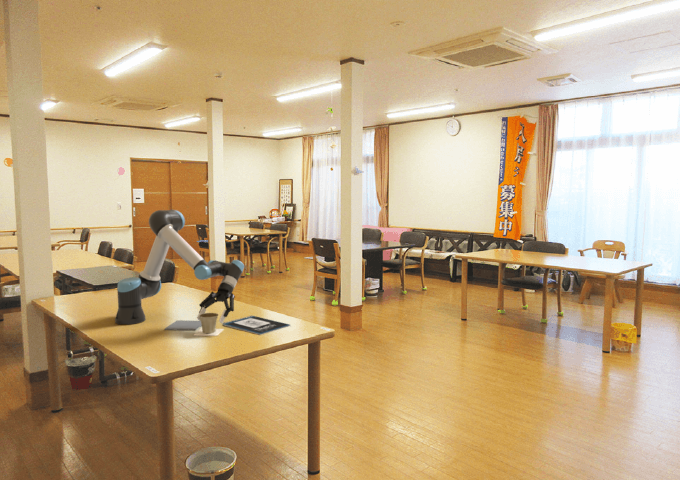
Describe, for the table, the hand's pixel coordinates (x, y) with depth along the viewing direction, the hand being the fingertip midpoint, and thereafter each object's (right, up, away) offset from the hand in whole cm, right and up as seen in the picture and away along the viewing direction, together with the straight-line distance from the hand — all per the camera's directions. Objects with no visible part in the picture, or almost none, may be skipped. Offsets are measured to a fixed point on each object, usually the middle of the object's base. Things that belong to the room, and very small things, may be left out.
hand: (209, 320), depth 229 cm
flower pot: (0, -6, +1) cm, 6 cm away
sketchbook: (+21, -6, +14) cm, 26 cm away
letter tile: (0, -6, +1) cm, 6 cm away
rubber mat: (-16, -5, +12) cm, 21 cm away
